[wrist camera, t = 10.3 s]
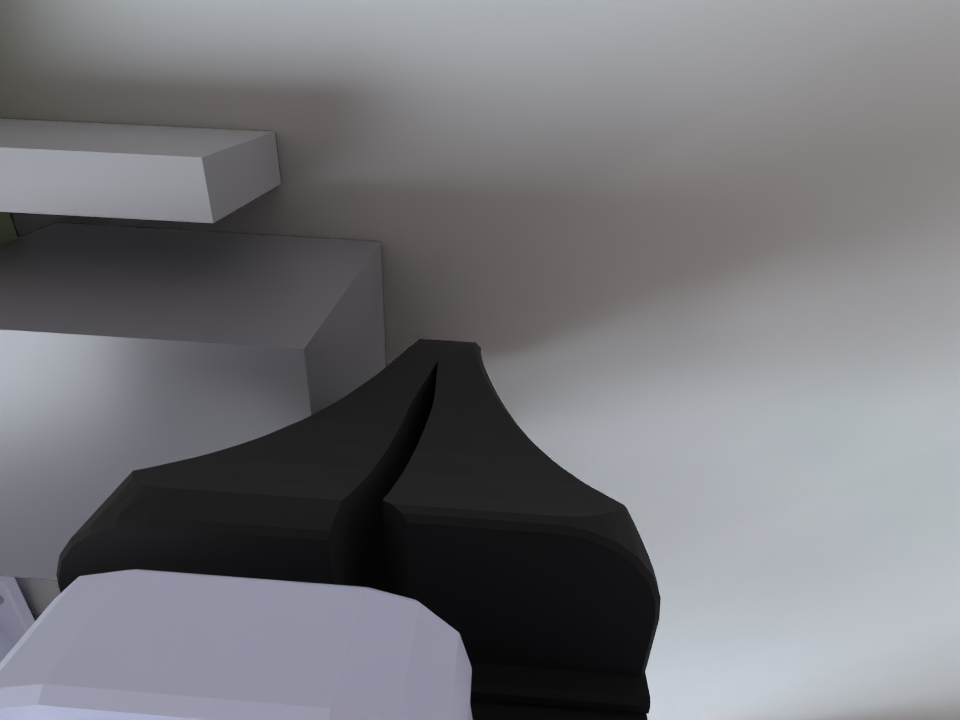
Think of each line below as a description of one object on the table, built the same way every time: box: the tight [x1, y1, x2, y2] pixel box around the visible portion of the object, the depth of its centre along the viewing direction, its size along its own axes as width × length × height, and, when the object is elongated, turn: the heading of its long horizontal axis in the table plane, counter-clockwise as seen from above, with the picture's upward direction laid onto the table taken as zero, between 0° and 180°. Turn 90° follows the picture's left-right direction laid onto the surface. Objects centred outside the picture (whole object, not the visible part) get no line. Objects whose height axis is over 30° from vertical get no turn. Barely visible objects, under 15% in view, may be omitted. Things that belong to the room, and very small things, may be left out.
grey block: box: [0, 223, 386, 581], centre depth 12 cm, size 5×7×5 cm
